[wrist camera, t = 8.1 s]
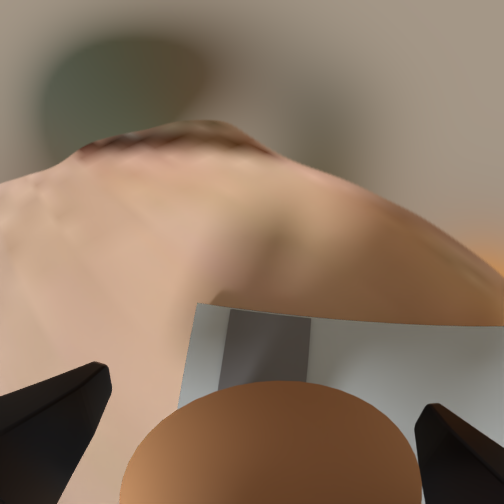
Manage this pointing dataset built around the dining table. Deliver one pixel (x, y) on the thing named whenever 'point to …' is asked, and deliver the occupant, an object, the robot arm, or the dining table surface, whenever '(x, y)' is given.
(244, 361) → the strip
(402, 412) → the board
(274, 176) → the dining table surface
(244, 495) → the birch peg
